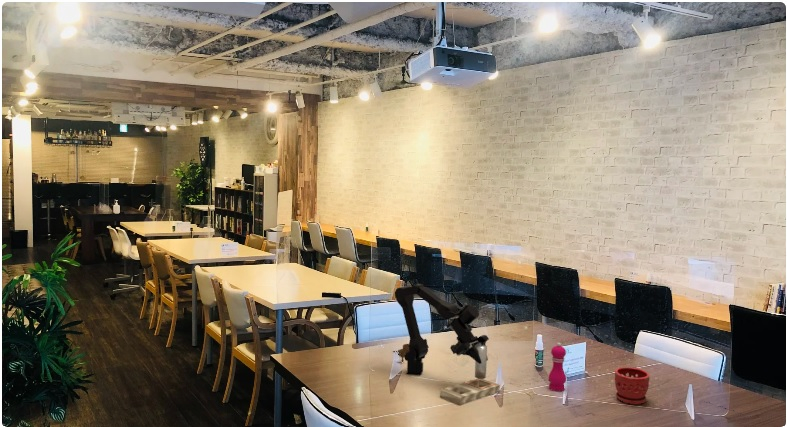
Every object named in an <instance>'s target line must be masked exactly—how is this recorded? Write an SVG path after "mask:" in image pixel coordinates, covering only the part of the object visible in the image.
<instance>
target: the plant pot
mask: <svg viewBox="0 0 787 427" xmlns="http://www.w3.org/2000/svg"><path fill="white" fill-rule="evenodd" d="M627 374H628V375H627ZM649 384H650V374H649V372H647V371H646V370H643V369H641V368H638V367H637V368H636V367H627V366H623V367H618V368H617V369H615V371H614V386H615V389H616V391H617V392H615V396H616V399H618V400H619V401H620V400H621V402H622V401H623V403H625V404H628V403H630V405H641V403H642V404H644V403H646V401H647V396H646V395H647V393H648V391H649V390H648V389H649Z"/></svg>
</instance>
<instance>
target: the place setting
mask: <svg viewBox="0 0 787 427" xmlns="http://www.w3.org/2000/svg"><path fill="white" fill-rule="evenodd" d="M398 352H400V353H399V355H398V356H399V357H400V358H401V360H400V361H401V362H403V363H404V360H405V357H404V355H406V354H407V353H408V352H409V343H405V344H403V345H402V348H400V349H398ZM398 352H397V353H398Z"/></svg>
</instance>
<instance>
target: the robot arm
mask: <svg viewBox="0 0 787 427" xmlns="http://www.w3.org/2000/svg"><path fill="white" fill-rule="evenodd" d="M415 295H417V296H418V297H420V298H421V299H422V300H424V301H425V302H426V303H427V304H428V305H430V306H432V307H433V309H435V310H436V312H437V314H438V315H439V316H440V317H441V319H442V320H444V321H447V320H448V321H447V323H446V329H449V328H452V330H453V331H454V333H455V334H456V335H457V337H456V340H457V343H455V344H451V346H450V348H449V349H450V350H451V352H452V354H453V355H456V356H459V357H460V356H461V355H462V356H469V358H471V359H473V360H474V361H476V362H478V363H479V364H481V363H482V362H481V359H480V357H479V354H478V352H477V349H476V345H486V343H487V342H488V341H489V340H490V339H489V338H490V337H488V335H487V334H486V335H485V334H482V335H479V337H478V336H476V335H474V333H473V332H472V331H473V329H472V327H470V328H469V327H468V325H471V324H472V323H473V322H474V321H475V320H476V319H477V318H478V317H479V316H480V313H479V311H478V309H477V308H475V307H474V306H472V305H471V304H470V303H467V304H466V305H465V306H464V307H463V308H460V307H458V306H457V305H456V304H453V303H452V302H449V301H446V300H443V299H442V298H440V296H438V295H436V294H435V293H434V292H432V291H431V290H429V289H428V288H427V287H425V285H424V284H422V283H419V284H418V283H417V284H415V285H412V286H409V285H406V286H401V287H398V288H396V289H395V291H394V297H395V299H396V303H397V304H399V306H400V307H401V309H402V313H403V316H404V320H405V325H406V328H407V331H408V336H409V342H408V344H409V352H408V353H407V354H405V355H404V360H405V361H407V363H406V365H407V366H406V372H405V374H406V375H413V376H421V375H422V374H423V372H424V362H423V359H425V358H426V356H427V354H428V352H429V347H430V346H429V345H428V339H427V338H423V337H422V336H421V332H420V328H419V324H418V321H417V317H416V313H415V308H414V300H415ZM451 319H452V320H451ZM487 361H488V357H487Z"/></svg>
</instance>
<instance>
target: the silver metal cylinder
mask: <svg viewBox="0 0 787 427" xmlns="http://www.w3.org/2000/svg"><path fill="white" fill-rule="evenodd" d="M476 349H477V352H478V354H479V357H480V359H481V362H482V363H481V364H479V363H478V362H476V361H475V360H474V361H475V362H474V378H475V379H478V378H479V379H486V378H487V361H488V360H487V358H488V345H486V344H485V345H476Z"/></svg>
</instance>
